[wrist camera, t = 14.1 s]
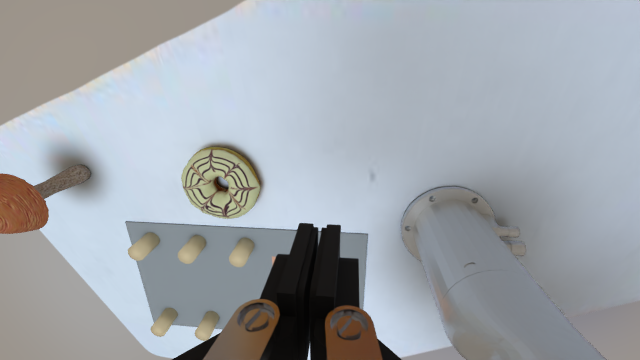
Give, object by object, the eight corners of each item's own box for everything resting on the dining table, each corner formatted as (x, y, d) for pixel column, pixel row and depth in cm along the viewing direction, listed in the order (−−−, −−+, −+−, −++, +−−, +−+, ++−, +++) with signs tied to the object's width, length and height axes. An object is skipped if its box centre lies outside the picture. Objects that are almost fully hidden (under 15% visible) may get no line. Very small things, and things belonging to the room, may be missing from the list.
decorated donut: (235, 223, 47) (226, 236, 44) (179, 179, 45) (164, 189, 42) (276, 179, 43) (269, 189, 40) (217, 129, 42) (204, 135, 38)
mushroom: (79, 203, 49) (-30, 261, 35) (48, 159, 46) (-83, 202, 32) (118, 189, 47) (18, 244, 33) (87, 142, 44) (-34, 180, 30)
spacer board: (367, 233, 45) (368, 250, 41) (360, 340, 53) (361, 362, 49) (126, 221, 49) (106, 235, 45) (154, 322, 57) (140, 341, 53)
